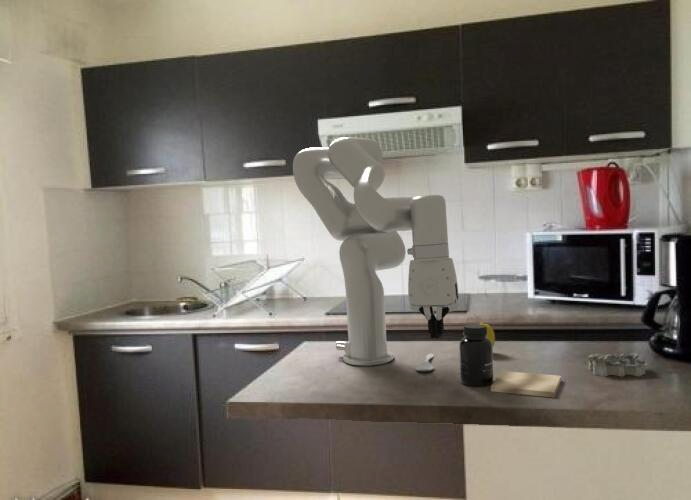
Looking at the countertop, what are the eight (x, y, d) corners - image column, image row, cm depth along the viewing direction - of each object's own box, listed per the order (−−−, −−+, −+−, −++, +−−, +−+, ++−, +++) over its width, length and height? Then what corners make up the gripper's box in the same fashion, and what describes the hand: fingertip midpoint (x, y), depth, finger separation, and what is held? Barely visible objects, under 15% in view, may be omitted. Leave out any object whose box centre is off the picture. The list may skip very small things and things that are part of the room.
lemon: (477, 350, 143) (476, 319, 143) (498, 352, 140) (497, 320, 140) (469, 355, 139) (467, 323, 138) (490, 357, 136) (489, 325, 135)
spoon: (413, 376, 126) (413, 369, 125) (424, 352, 145) (424, 346, 145) (432, 376, 124) (432, 369, 124) (440, 352, 144) (440, 346, 144)
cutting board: (490, 391, 111) (490, 386, 111) (502, 375, 121) (502, 371, 121) (554, 397, 106) (554, 392, 106) (561, 380, 115) (561, 375, 115)
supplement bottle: (494, 387, 113) (492, 329, 113) (460, 387, 115) (458, 329, 114) (492, 377, 120) (490, 322, 119) (460, 377, 121) (458, 323, 121)
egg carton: (593, 378, 117) (593, 358, 117) (586, 367, 124) (585, 349, 124) (649, 378, 115) (648, 358, 114) (638, 367, 122) (637, 349, 122)
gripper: (392, 255, 120) (398, 339, 121) (460, 252, 113) (465, 342, 114) (404, 252, 126) (410, 332, 127) (469, 250, 119) (475, 334, 120)
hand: (436, 336), depth 120 cm, fingers closed
